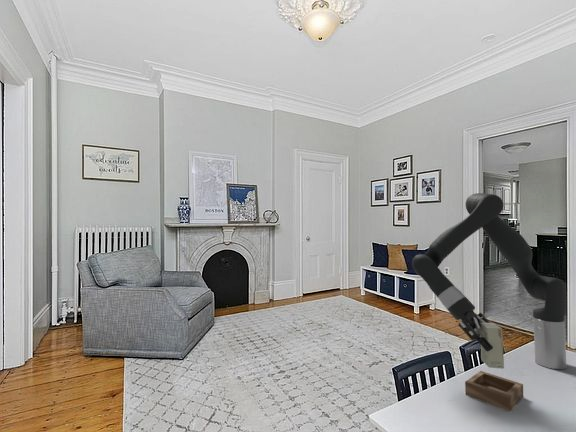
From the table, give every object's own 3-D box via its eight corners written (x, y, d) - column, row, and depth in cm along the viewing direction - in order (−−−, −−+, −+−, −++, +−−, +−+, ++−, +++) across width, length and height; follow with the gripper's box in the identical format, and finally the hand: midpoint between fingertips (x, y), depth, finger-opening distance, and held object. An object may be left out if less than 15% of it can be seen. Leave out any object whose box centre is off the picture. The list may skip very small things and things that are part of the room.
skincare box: (504, 369, 95) (503, 328, 96) (489, 368, 96) (487, 328, 96) (495, 360, 102) (494, 322, 102) (480, 359, 102) (479, 321, 103)
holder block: (481, 382, 107) (480, 370, 107) (523, 397, 97) (522, 384, 97) (465, 394, 99) (465, 381, 100) (509, 411, 90) (509, 397, 90)
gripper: (453, 299, 101) (496, 346, 92) (472, 293, 110) (513, 335, 101) (438, 312, 105) (476, 358, 96) (457, 305, 114) (494, 347, 105)
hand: (495, 346), depth 98 cm, fingers closed on skincare box, 7 cm apart
